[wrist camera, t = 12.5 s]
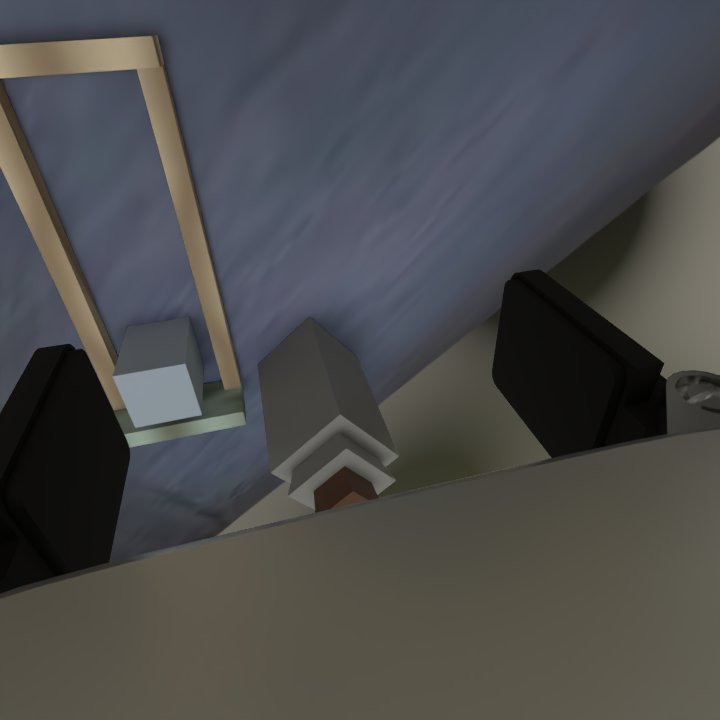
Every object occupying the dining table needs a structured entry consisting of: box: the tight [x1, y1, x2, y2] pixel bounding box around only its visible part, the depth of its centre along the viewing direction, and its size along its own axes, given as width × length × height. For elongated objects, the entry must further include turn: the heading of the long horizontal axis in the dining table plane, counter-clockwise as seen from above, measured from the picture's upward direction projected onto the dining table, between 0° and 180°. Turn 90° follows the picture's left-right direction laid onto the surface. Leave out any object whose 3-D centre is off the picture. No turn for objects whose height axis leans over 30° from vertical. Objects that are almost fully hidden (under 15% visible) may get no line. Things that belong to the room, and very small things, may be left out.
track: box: [0, 35, 246, 447], centre depth 34 cm, size 11×28×5 cm, turn 3°
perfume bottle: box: [258, 317, 399, 513], centre depth 38 cm, size 7×7×18 cm
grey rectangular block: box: [112, 317, 204, 428], centre depth 38 cm, size 5×5×7 cm
